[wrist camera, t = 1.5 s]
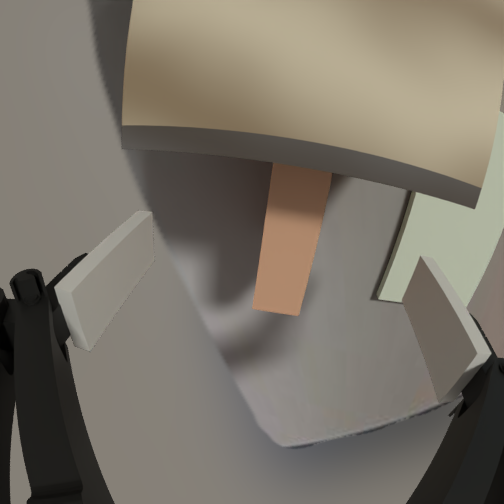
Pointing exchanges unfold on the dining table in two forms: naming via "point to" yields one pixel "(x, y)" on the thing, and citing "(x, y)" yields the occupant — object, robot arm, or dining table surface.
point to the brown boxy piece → (322, 86)
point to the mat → (450, 234)
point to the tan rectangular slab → (290, 237)
